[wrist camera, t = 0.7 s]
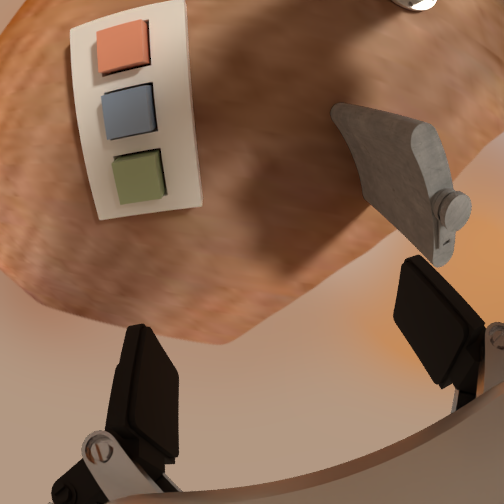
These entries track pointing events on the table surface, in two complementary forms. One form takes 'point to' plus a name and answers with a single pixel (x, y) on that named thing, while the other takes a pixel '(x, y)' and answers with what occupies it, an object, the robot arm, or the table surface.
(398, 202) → the hip flask
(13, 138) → the table surface
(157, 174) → the olive green button
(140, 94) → the slate blue button
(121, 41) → the terracotta button
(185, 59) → the button board
